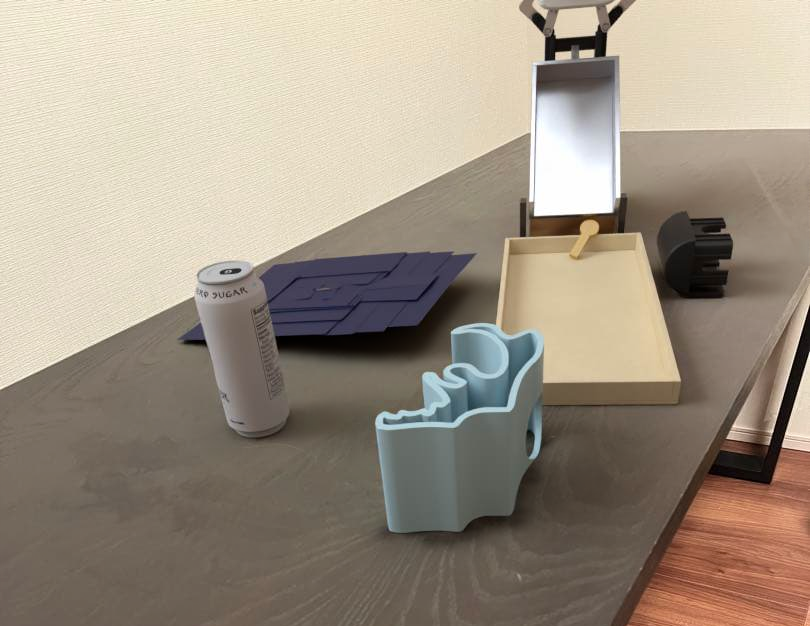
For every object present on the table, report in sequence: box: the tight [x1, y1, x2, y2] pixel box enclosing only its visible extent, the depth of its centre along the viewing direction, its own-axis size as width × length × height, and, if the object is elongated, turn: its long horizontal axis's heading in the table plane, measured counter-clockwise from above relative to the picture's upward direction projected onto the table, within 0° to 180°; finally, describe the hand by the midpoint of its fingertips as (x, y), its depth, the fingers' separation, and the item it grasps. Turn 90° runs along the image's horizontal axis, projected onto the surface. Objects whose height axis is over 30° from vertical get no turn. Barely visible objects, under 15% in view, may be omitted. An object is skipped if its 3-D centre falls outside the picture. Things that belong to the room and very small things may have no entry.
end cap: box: [656, 210, 734, 299], centre depth 91 cm, size 10×7×7 cm
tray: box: [495, 232, 682, 406], centre depth 88 cm, size 17×39×2 cm, turn 172°
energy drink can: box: [193, 259, 291, 438], centre depth 71 cm, size 6×6×15 cm
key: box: [569, 220, 599, 259], centre depth 101 cm, size 6×2×1 cm
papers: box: [177, 250, 478, 341], centre depth 95 cm, size 24×30×4 cm
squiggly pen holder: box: [374, 322, 544, 534], centre depth 64 cm, size 18×10×9 cm, turn 162°
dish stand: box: [519, 192, 628, 237], centre depth 111 cm, size 14×19×6 cm
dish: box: [528, 34, 622, 220], centre depth 103 cm, size 11×26×3 cm
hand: (574, 66), depth 106 cm, fingers closed on dish, 5 cm apart
